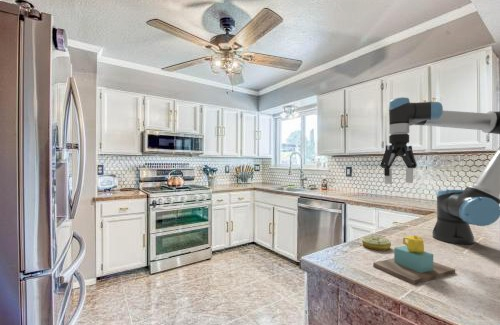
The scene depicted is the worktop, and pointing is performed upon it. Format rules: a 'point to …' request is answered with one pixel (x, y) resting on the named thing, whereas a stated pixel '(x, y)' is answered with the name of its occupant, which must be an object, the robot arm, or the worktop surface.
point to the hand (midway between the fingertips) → (399, 183)
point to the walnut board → (413, 271)
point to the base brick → (413, 259)
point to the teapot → (414, 244)
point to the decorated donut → (376, 243)
